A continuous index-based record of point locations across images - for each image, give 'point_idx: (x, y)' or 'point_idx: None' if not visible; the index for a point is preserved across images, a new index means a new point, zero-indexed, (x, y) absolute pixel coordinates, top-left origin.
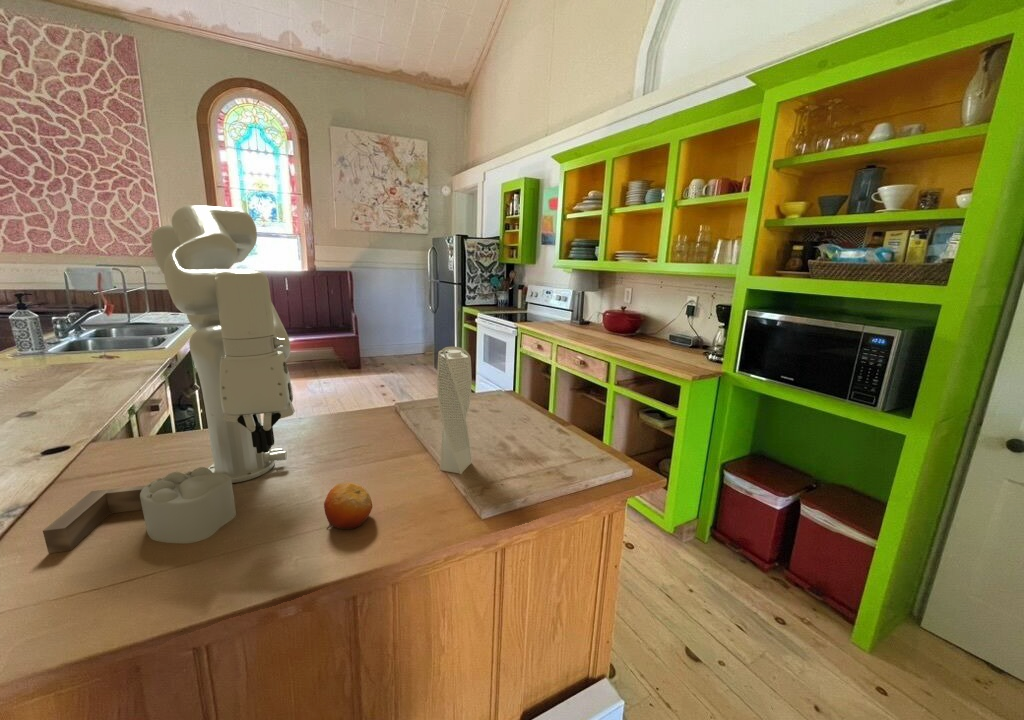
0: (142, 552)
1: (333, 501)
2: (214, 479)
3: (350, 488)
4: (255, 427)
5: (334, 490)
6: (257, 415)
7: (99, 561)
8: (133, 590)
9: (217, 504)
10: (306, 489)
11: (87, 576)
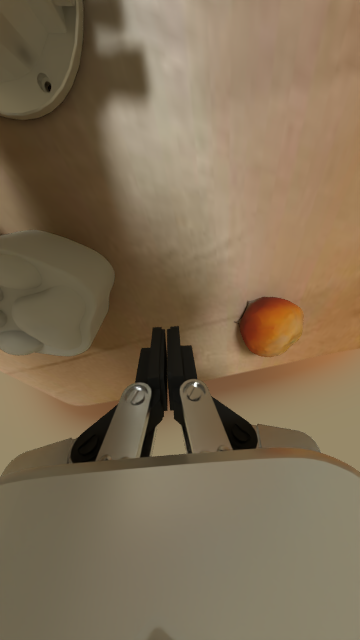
0: None
1: (259, 353)
2: (72, 317)
3: (287, 344)
4: (156, 427)
5: (266, 346)
6: (142, 429)
7: None
8: (89, 368)
9: (99, 313)
10: (204, 205)
11: None
